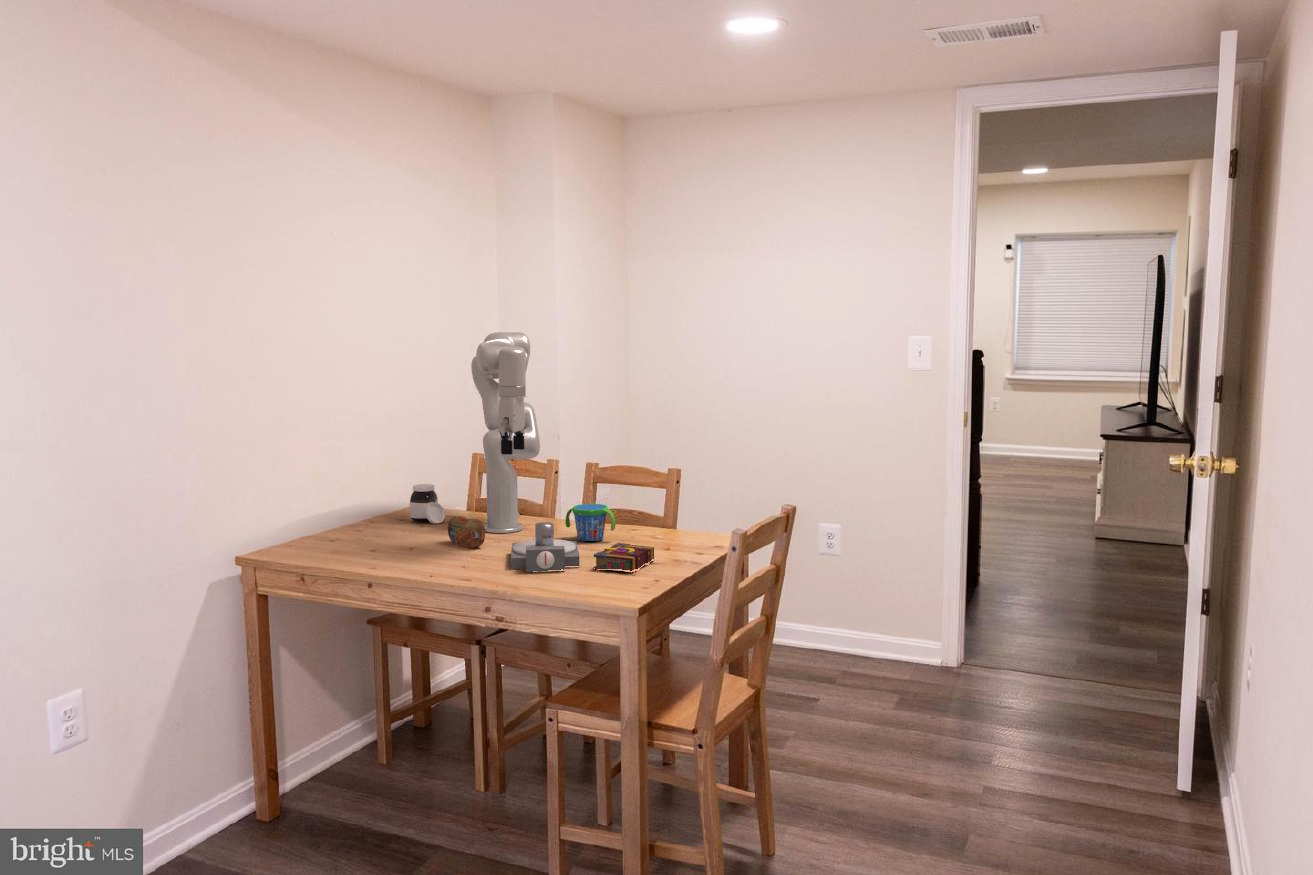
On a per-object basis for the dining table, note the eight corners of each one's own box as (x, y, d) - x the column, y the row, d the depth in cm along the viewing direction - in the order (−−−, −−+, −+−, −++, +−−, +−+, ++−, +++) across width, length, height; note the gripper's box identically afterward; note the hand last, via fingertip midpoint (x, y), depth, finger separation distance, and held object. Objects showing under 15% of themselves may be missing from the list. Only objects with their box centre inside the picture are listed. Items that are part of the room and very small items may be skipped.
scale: (512, 553, 277) (511, 532, 277) (576, 551, 280) (576, 530, 279) (510, 573, 255) (510, 550, 255) (580, 571, 258) (580, 549, 257)
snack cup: (558, 540, 294) (558, 507, 292) (577, 534, 303) (577, 501, 302) (604, 546, 286) (603, 511, 285) (621, 539, 296) (621, 505, 295)
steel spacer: (539, 543, 272) (539, 521, 272) (556, 544, 271) (556, 522, 270) (532, 547, 268) (532, 525, 267) (550, 548, 266) (549, 526, 266)
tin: (447, 542, 291) (446, 514, 290) (456, 540, 294) (455, 512, 293) (478, 550, 281) (477, 521, 280) (487, 548, 283) (486, 519, 282)
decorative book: (655, 562, 269) (655, 544, 268) (630, 576, 254) (630, 557, 253) (617, 558, 273) (617, 540, 273) (591, 571, 258) (591, 553, 258)
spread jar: (418, 517, 328) (418, 482, 326) (451, 518, 326) (450, 483, 325) (404, 524, 316) (403, 488, 315) (438, 525, 314) (437, 489, 313)
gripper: (510, 389, 289) (511, 447, 291) (488, 394, 272) (489, 455, 274) (535, 389, 287) (535, 448, 289) (514, 395, 270) (514, 456, 273)
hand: (512, 451), depth 282 cm, fingers open, 9 cm apart
